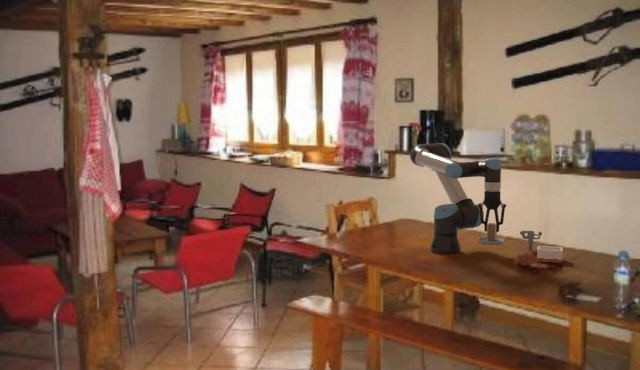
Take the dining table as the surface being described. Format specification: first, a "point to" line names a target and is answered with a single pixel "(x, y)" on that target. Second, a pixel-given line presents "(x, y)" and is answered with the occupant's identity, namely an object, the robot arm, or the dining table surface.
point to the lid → (491, 237)
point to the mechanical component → (530, 237)
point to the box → (549, 252)
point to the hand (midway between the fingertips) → (491, 238)
